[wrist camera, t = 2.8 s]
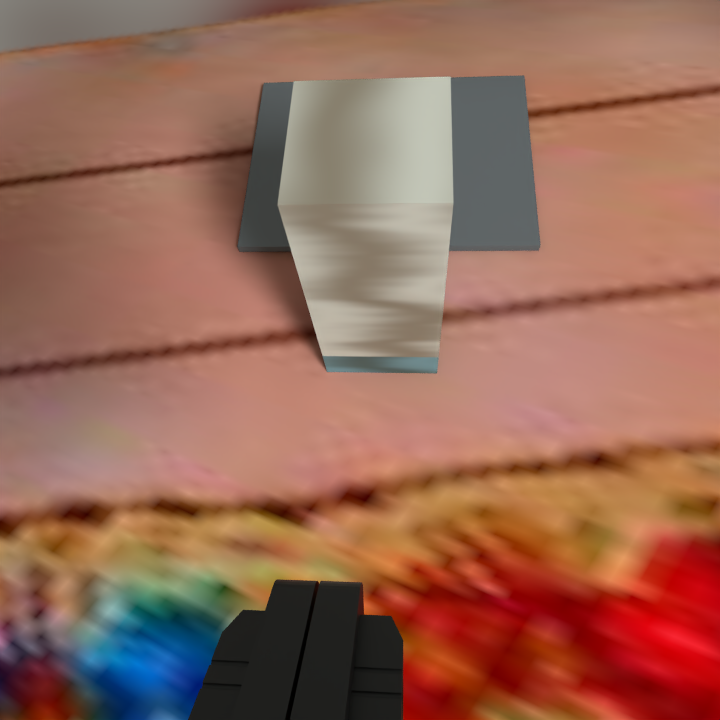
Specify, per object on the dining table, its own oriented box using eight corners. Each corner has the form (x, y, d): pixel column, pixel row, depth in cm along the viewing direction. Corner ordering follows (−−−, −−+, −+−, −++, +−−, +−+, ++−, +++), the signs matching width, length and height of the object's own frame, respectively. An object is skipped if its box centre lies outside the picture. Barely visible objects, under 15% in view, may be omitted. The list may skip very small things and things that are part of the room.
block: (436, 279, 36) (450, 76, 23) (436, 373, 33) (453, 202, 20) (334, 279, 36) (293, 81, 24) (327, 371, 34) (277, 204, 21)
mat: (522, 81, 42) (524, 75, 41) (538, 250, 36) (540, 245, 36) (265, 88, 43) (263, 82, 43) (239, 251, 38) (237, 246, 37)
